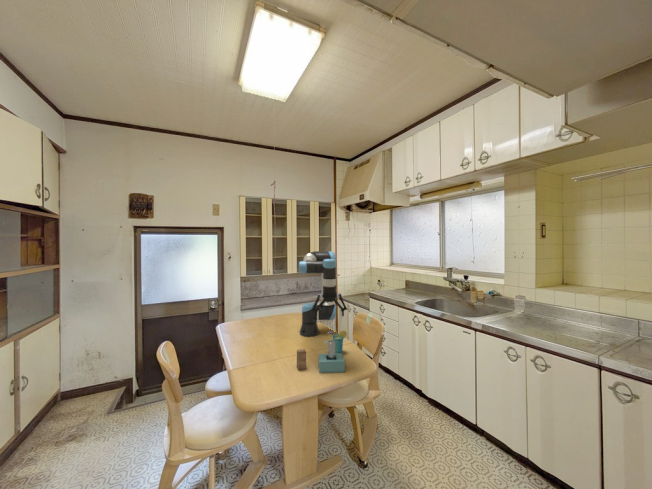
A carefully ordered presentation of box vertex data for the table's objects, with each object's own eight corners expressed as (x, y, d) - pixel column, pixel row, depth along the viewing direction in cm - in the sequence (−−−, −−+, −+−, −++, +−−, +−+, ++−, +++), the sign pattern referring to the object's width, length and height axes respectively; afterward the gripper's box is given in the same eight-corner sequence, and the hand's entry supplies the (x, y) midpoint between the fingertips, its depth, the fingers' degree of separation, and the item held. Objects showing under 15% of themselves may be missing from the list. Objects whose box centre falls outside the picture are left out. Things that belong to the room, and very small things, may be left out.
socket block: (318, 364, 148) (318, 353, 148) (342, 363, 149) (342, 353, 149) (319, 372, 138) (319, 362, 138) (344, 372, 139) (344, 361, 139)
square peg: (296, 366, 145) (296, 349, 145) (304, 365, 146) (304, 348, 146) (298, 370, 141) (298, 352, 141) (306, 369, 142) (306, 351, 142)
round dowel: (327, 366, 145) (327, 340, 145) (334, 366, 146) (334, 340, 145) (327, 369, 141) (328, 343, 141) (335, 369, 142) (335, 343, 141)
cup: (330, 357, 156) (330, 333, 156) (324, 353, 163) (324, 330, 163) (349, 352, 163) (349, 329, 163) (342, 348, 170) (342, 326, 169)
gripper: (307, 287, 141) (307, 324, 142) (351, 286, 143) (351, 323, 143) (308, 284, 149) (308, 320, 149) (349, 284, 150) (349, 319, 151)
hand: (329, 322), depth 146 cm, fingers open, 13 cm apart
